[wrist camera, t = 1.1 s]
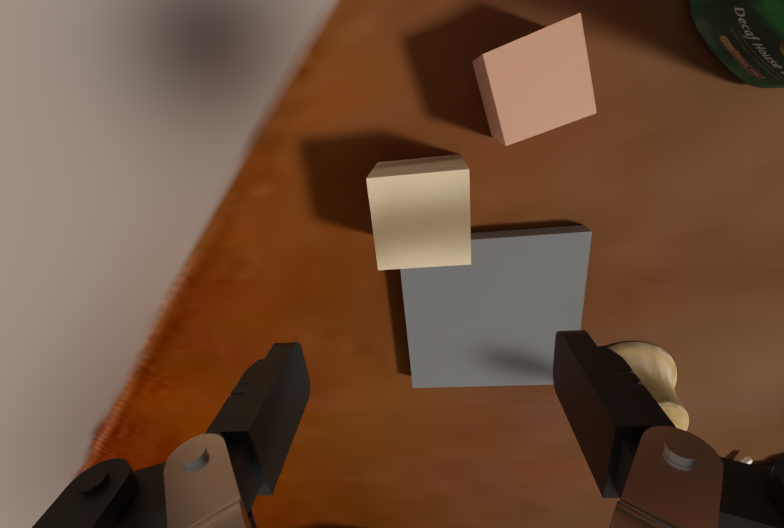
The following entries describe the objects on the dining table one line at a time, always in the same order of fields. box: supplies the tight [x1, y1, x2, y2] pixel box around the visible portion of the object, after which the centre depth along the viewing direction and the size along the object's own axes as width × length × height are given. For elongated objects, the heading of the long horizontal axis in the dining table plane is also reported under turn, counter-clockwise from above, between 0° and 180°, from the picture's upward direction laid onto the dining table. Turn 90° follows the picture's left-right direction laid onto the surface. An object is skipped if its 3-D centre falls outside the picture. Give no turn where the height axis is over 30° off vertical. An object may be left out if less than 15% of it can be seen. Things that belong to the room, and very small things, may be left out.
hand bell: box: [608, 341, 689, 431], centre depth 26 cm, size 8×8×16 cm
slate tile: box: [400, 225, 592, 388], centre depth 31 cm, size 14×14×2 cm
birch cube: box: [366, 154, 471, 270], centre depth 26 cm, size 6×6×6 cm
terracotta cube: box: [472, 13, 597, 146], centre depth 22 cm, size 5×5×5 cm
